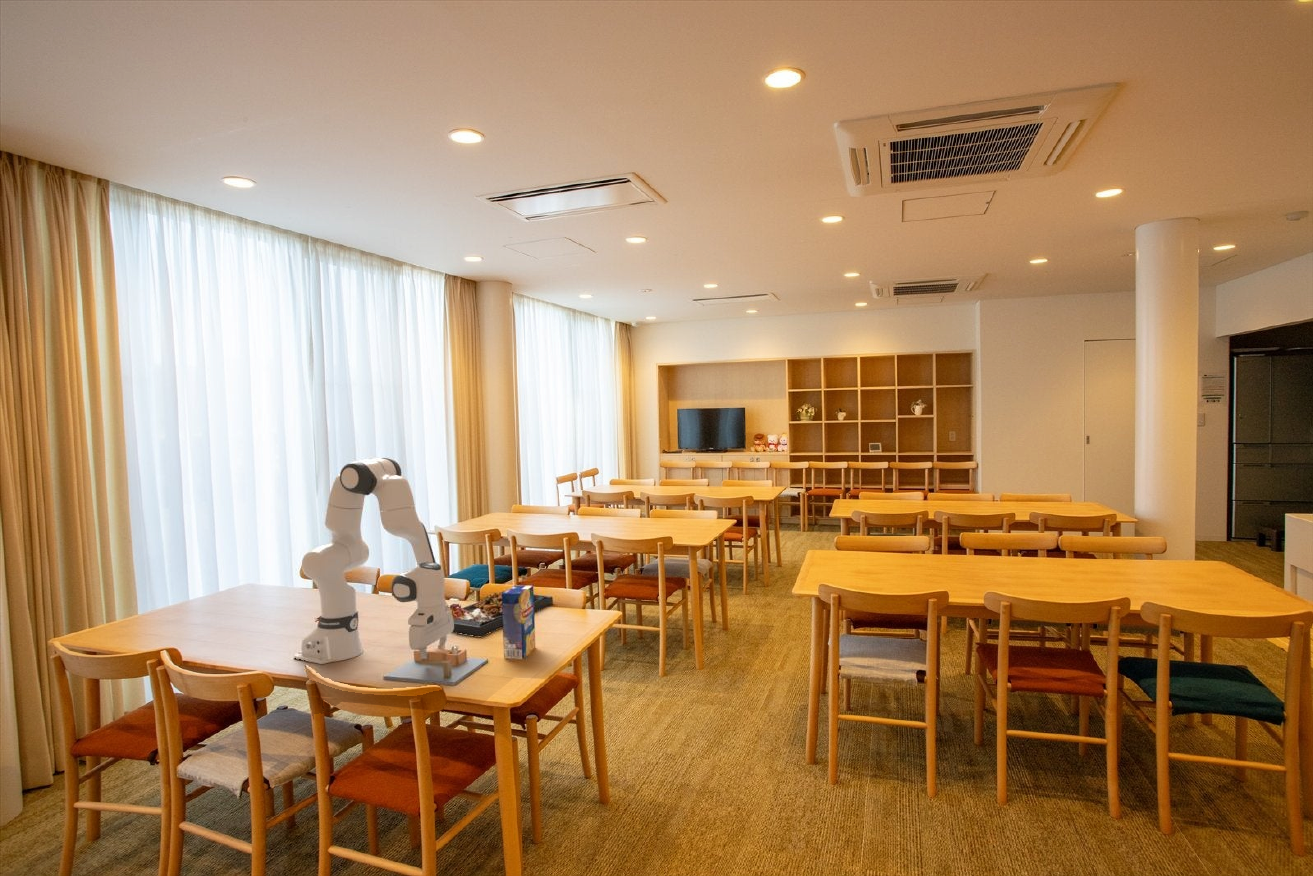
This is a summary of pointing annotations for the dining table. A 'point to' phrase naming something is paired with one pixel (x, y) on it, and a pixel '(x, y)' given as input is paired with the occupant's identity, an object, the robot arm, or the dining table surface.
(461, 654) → the link
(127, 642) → the dining table surface
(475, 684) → the dining table surface
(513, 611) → the beverage box
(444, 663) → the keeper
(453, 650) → the peg
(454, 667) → the board
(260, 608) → the dining table surface
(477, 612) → the food platter
